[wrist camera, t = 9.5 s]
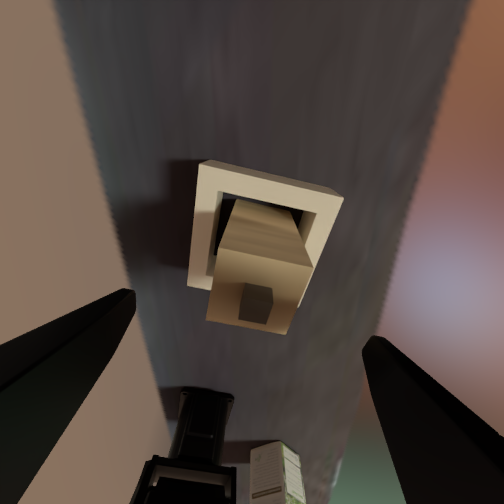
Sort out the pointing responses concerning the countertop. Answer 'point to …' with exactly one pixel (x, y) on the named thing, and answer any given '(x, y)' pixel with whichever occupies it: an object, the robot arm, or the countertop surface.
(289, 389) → the countertop surface
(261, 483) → the syrup box
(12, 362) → the robot arm
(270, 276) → the wooden peg
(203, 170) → the cream square ring
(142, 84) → the countertop surface
